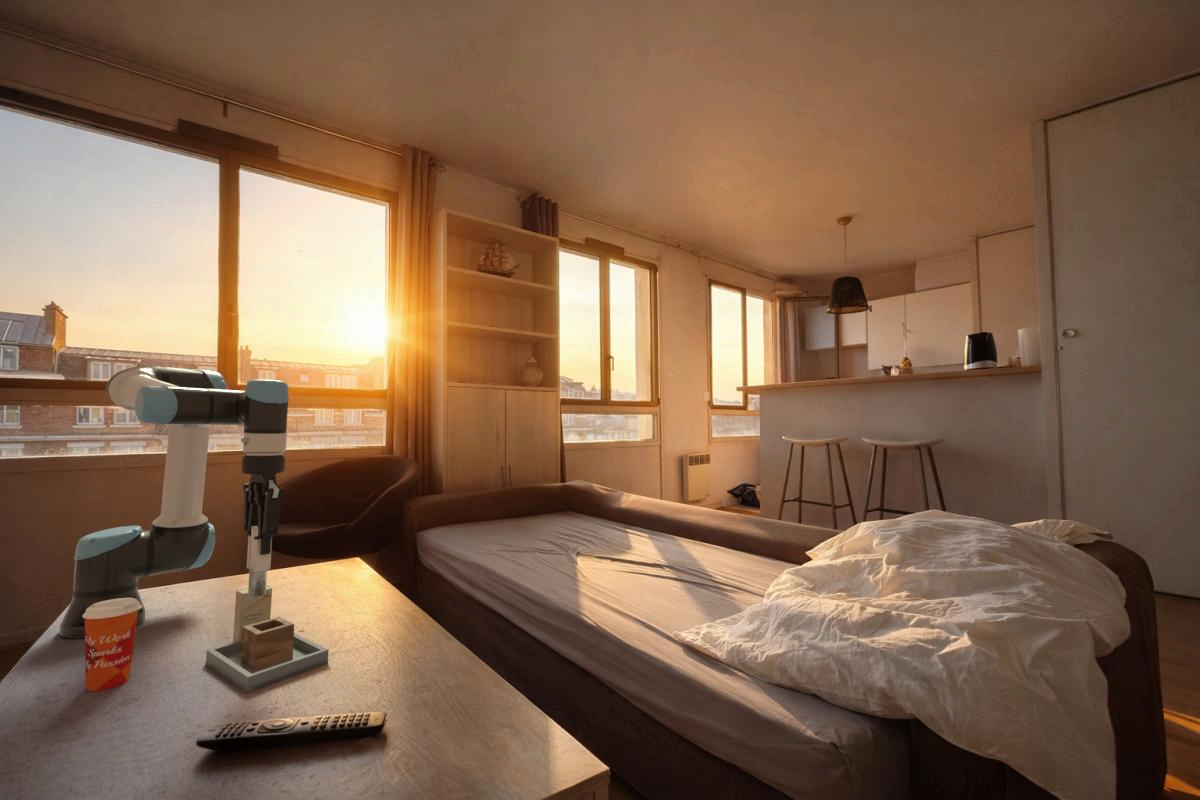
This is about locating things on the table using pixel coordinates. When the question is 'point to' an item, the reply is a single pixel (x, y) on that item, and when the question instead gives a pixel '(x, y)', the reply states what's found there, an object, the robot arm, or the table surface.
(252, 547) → the pin
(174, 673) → the table surface
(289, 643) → the bored block
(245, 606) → the skincare box
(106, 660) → the coffee cup
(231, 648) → the tray
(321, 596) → the table surface
